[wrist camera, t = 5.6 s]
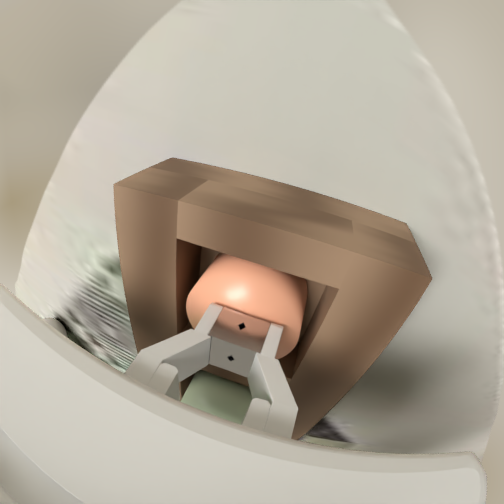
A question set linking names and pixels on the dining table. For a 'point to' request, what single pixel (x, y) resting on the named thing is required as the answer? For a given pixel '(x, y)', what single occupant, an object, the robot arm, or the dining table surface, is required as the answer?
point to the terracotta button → (252, 295)
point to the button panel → (273, 256)
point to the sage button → (218, 396)
